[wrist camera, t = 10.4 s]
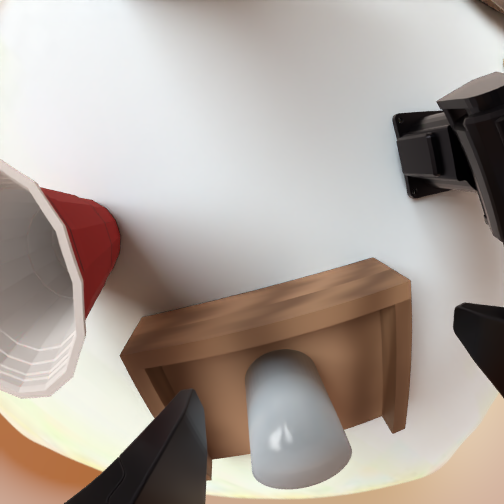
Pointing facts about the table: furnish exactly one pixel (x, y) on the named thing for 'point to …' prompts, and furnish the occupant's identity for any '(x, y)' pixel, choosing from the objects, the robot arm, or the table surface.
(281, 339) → the wooden tray
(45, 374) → the plastic cup
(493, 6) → the plant saucer
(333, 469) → the grey rounded cone
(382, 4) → the table surface
